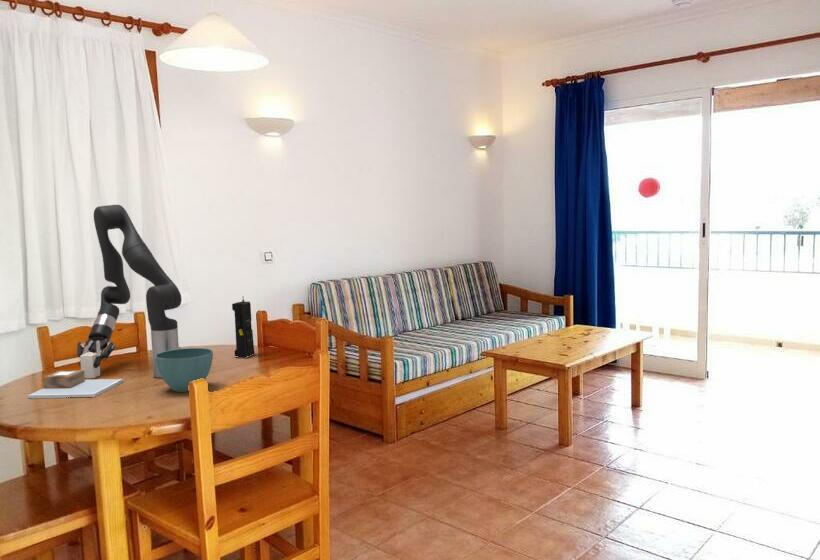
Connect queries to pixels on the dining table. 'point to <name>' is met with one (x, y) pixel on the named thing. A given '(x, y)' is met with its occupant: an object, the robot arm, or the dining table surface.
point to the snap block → (89, 365)
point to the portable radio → (243, 329)
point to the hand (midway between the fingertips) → (88, 366)
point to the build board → (80, 388)
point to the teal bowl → (184, 366)
